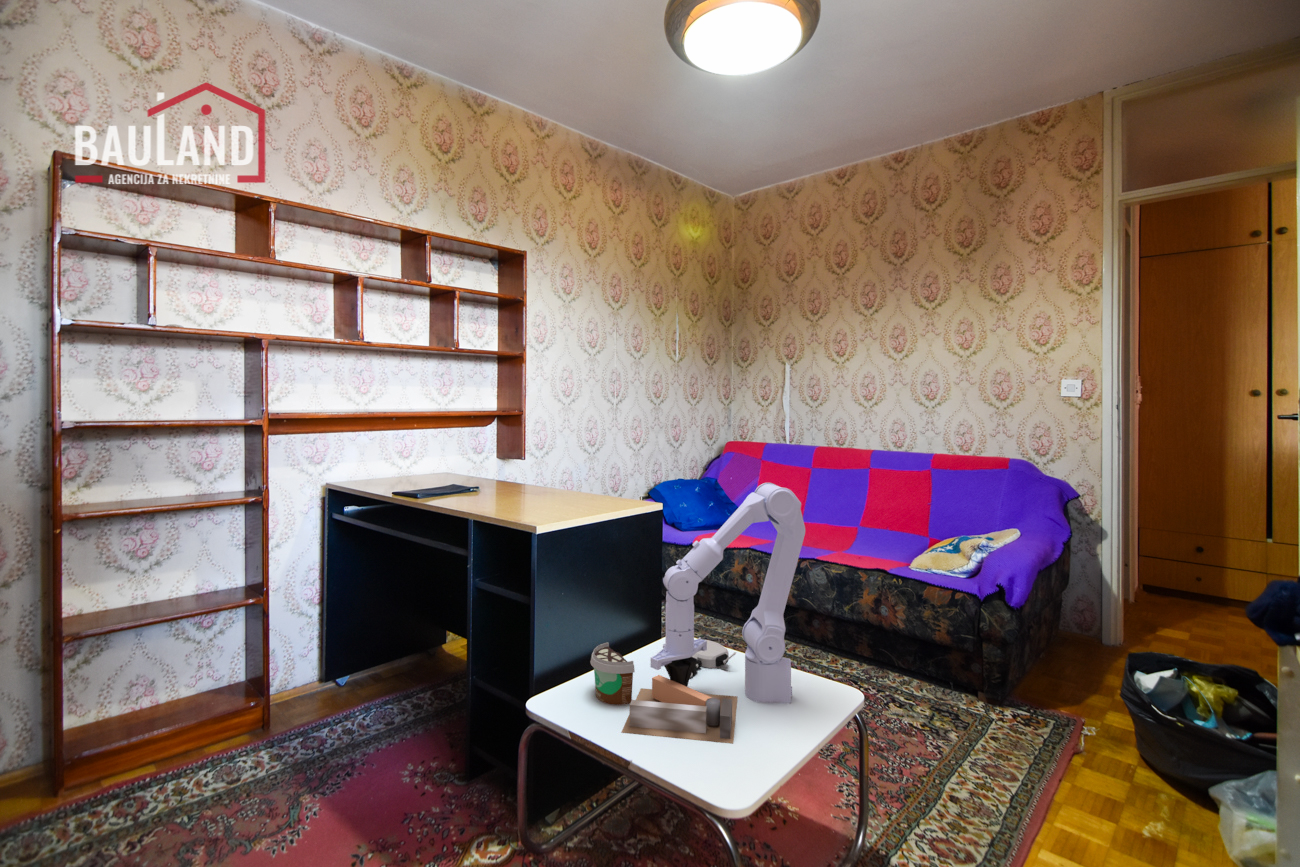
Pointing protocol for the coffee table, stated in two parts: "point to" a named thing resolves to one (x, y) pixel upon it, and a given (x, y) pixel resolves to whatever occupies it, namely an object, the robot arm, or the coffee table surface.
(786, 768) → the coffee table surface
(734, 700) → the tong board
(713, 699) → the tong arm
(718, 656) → the robot toy
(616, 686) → the food container
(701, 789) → the coffee table surface
